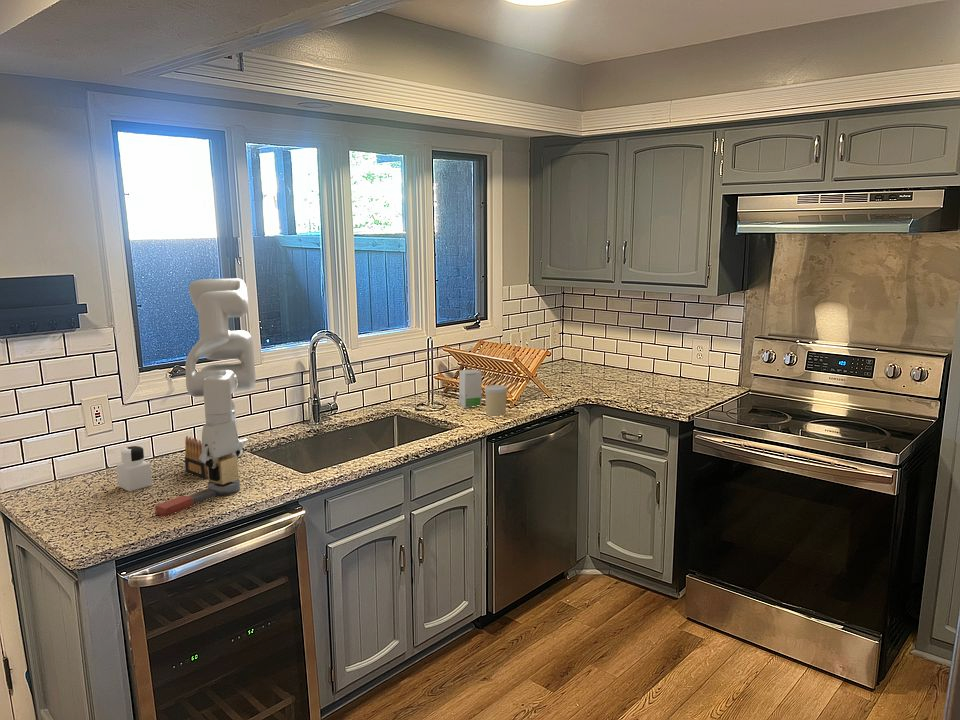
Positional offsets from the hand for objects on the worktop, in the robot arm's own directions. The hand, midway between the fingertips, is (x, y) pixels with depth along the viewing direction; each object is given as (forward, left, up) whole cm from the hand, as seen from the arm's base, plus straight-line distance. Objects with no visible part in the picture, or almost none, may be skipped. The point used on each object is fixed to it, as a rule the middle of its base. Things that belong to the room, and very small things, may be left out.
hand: (223, 476), depth 214 cm
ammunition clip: (-5, -18, -5) cm, 19 cm away
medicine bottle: (+11, -26, -5) cm, 29 cm away
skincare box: (-122, +12, -5) cm, 123 cm away
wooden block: (0, 0, -1) cm, 1 cm away
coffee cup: (-114, +29, -5) cm, 118 cm away
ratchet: (+8, 0, -4) cm, 10 cm away
